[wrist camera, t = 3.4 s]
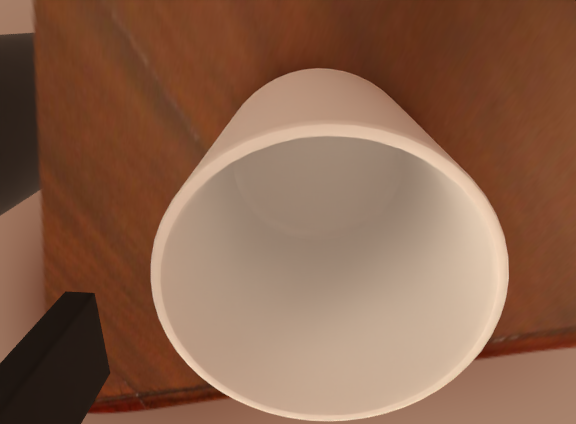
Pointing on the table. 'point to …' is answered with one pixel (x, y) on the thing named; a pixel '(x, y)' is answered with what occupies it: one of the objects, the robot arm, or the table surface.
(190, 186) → the mug
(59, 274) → the table surface
